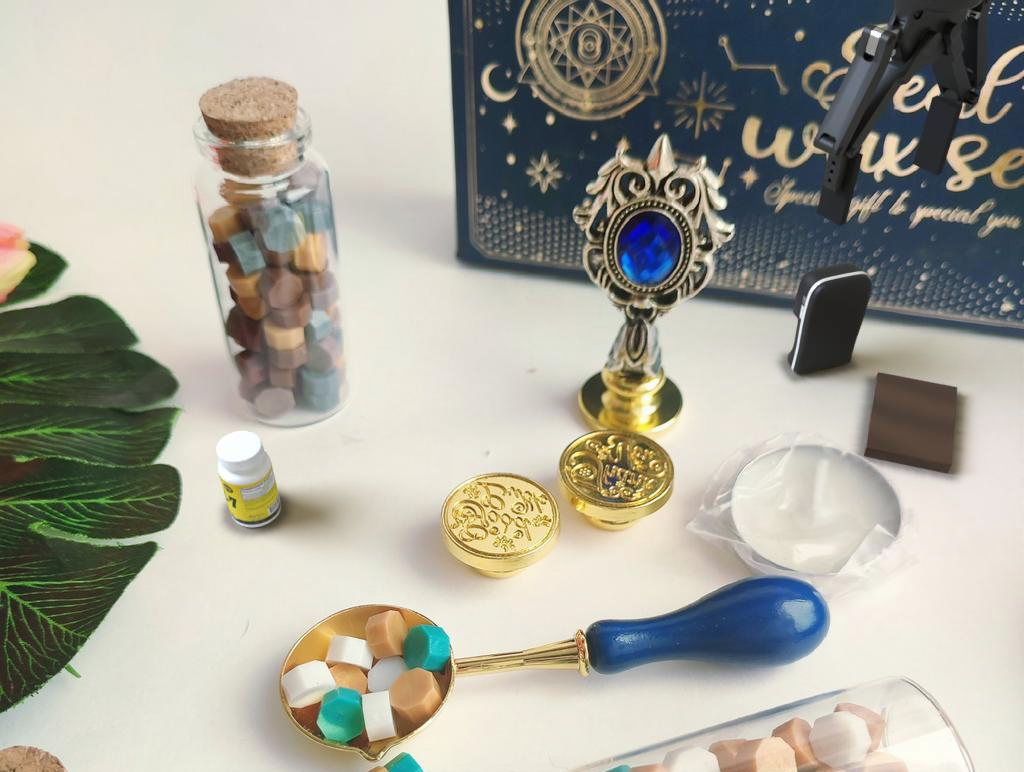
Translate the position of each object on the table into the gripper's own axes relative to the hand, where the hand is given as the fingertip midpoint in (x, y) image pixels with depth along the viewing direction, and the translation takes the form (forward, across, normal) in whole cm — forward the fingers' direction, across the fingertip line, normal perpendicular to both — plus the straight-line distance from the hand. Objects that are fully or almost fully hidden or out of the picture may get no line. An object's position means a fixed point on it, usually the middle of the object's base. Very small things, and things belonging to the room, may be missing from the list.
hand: (880, 193), depth 98 cm
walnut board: (+22, 0, +10) cm, 24 cm away
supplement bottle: (+22, +57, -21) cm, 64 cm away
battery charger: (+22, -1, -3) cm, 22 cm away
